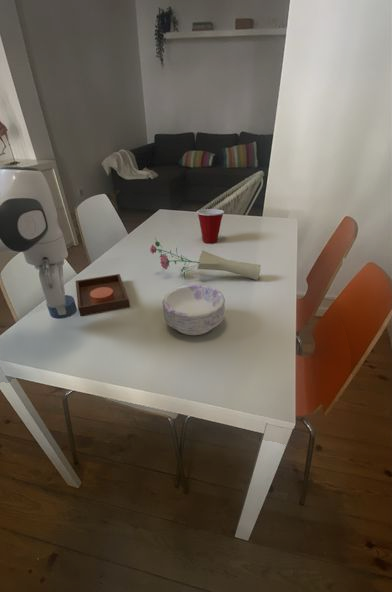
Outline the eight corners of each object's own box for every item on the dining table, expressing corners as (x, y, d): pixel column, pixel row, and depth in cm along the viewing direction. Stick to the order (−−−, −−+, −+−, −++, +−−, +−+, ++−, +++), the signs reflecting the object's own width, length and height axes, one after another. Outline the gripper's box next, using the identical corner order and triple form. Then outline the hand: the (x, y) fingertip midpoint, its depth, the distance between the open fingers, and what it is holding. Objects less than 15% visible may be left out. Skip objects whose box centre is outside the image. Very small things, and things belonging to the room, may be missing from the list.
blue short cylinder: (50, 320, 76) (46, 310, 74) (49, 308, 80) (46, 297, 78) (77, 315, 77) (74, 305, 75) (76, 303, 82) (73, 293, 80)
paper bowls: (153, 334, 79) (150, 306, 74) (181, 305, 90) (179, 279, 85) (210, 349, 74) (210, 320, 69) (231, 316, 85) (233, 290, 80)
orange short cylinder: (91, 298, 93) (88, 289, 91) (113, 294, 95) (111, 285, 93) (93, 309, 88) (91, 299, 86) (116, 304, 90) (114, 295, 88)
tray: (129, 307, 90) (128, 299, 88) (80, 316, 87) (77, 307, 85) (120, 281, 103) (119, 273, 101) (77, 288, 100) (75, 280, 98)
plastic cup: (223, 236, 135) (224, 206, 127) (222, 246, 126) (223, 214, 119) (198, 236, 136) (197, 206, 128) (195, 245, 127) (195, 214, 120)
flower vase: (249, 304, 105) (144, 282, 101) (249, 278, 111) (151, 257, 108) (261, 278, 95) (145, 253, 92) (261, 251, 102) (153, 227, 99)
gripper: (61, 266, 62) (78, 325, 71) (59, 234, 77) (73, 285, 86) (27, 271, 61) (48, 330, 69) (31, 237, 76) (48, 289, 84)
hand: (62, 305), depth 78 cm, fingers closed on blue short cylinder, 6 cm apart
